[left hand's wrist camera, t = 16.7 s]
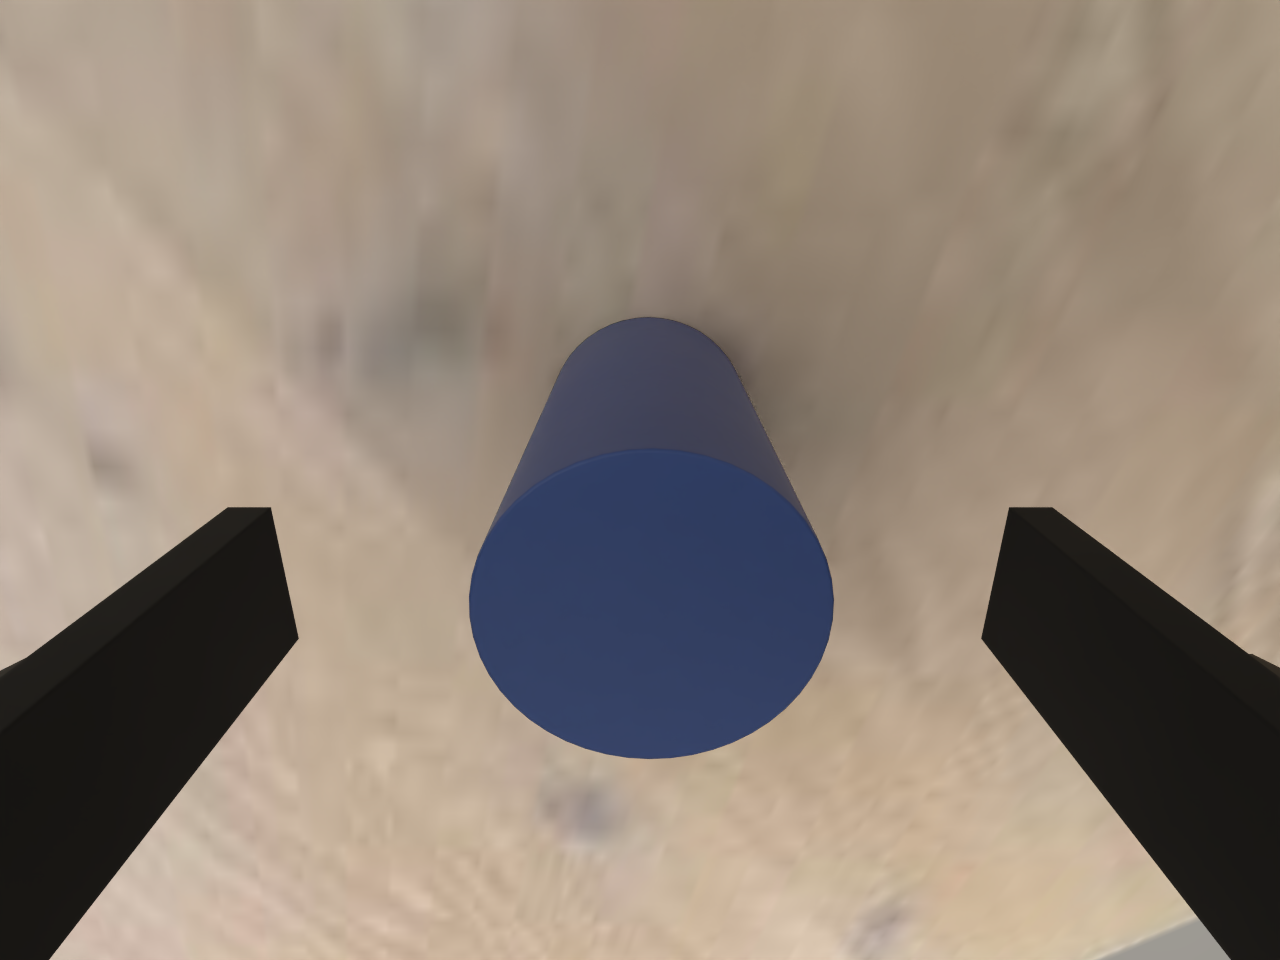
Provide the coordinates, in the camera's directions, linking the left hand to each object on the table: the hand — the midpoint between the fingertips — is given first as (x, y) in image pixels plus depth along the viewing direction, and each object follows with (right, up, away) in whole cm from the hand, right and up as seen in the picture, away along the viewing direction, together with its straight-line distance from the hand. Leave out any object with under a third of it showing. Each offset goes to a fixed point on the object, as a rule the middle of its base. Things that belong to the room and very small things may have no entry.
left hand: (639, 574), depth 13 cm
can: (0, +4, +8) cm, 8 cm away
